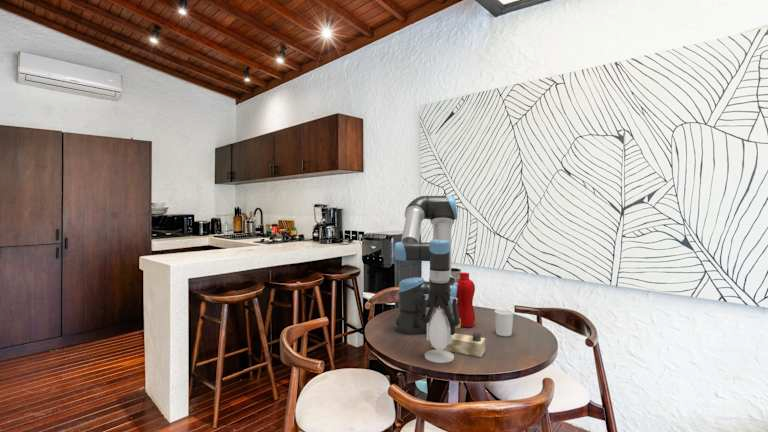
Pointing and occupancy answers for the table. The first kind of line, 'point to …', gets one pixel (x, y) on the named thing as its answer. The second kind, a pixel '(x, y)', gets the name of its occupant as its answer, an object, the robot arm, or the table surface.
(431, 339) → the sauce bottle
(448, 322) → the lever
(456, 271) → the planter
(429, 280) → the robot arm
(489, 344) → the table surface
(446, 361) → the white round disc
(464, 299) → the red lumpy piece
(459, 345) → the beige long block
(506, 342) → the table surface
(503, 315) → the white cup
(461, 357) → the table surface
